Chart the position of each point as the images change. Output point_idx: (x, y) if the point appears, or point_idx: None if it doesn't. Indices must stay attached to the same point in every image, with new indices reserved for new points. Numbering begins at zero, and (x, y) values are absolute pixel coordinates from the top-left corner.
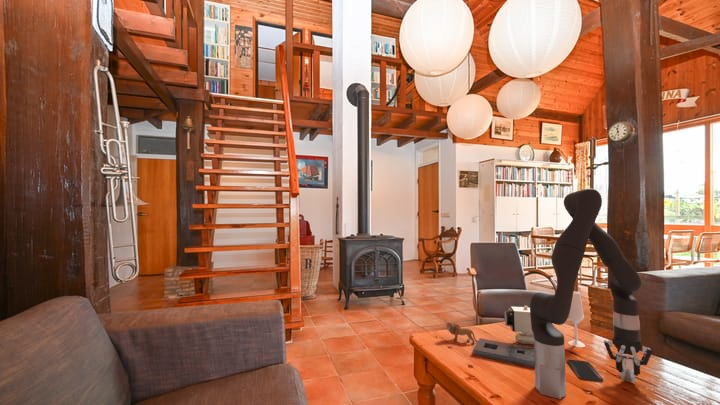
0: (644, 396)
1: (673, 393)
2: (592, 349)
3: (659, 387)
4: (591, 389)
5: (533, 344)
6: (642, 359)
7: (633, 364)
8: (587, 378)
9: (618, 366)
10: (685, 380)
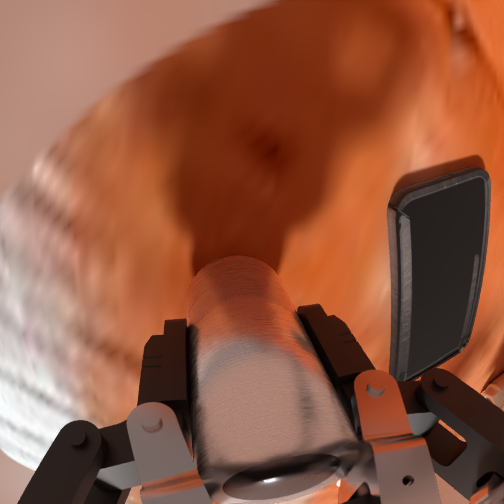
0: (144, 100)
1: (4, 283)
2: None
3: (64, 323)
4: (451, 53)
5: (494, 381)
6: (114, 493)
7: (204, 403)
8: (464, 173)
9: (338, 342)
10: (24, 427)
